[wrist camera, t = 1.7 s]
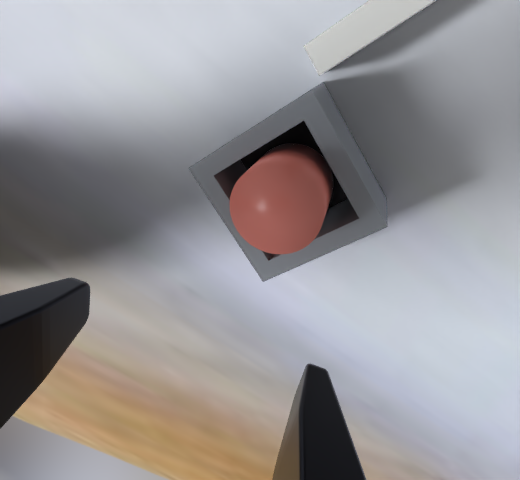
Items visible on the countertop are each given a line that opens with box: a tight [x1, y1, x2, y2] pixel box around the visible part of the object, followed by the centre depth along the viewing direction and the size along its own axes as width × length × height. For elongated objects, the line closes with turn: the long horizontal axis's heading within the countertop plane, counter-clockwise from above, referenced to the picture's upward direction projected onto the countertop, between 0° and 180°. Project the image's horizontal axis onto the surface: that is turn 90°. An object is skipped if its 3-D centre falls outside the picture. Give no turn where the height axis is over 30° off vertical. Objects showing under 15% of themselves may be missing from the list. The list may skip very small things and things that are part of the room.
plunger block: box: [189, 82, 387, 282], centre depth 19 cm, size 6×6×4 cm
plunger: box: [230, 143, 334, 254], centre depth 17 cm, size 4×4×4 cm
